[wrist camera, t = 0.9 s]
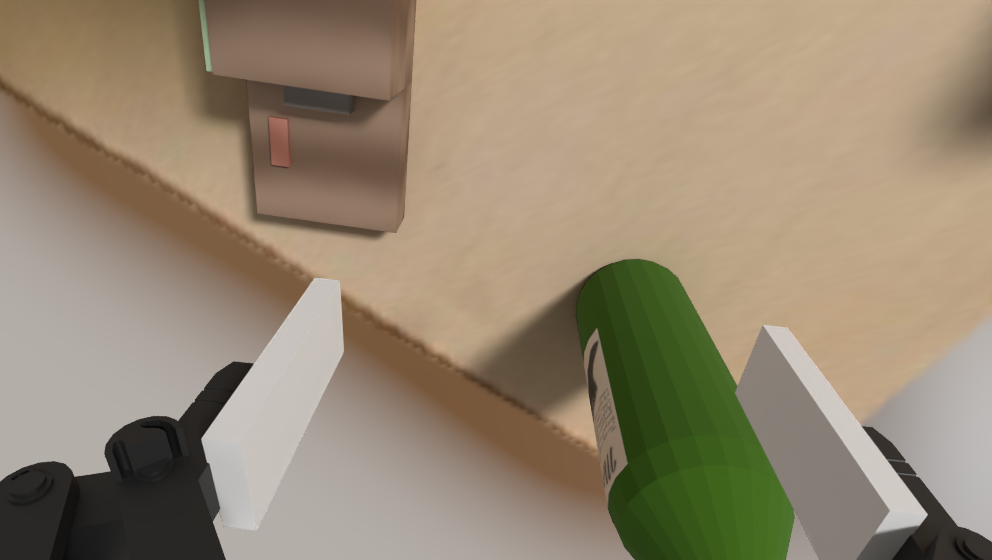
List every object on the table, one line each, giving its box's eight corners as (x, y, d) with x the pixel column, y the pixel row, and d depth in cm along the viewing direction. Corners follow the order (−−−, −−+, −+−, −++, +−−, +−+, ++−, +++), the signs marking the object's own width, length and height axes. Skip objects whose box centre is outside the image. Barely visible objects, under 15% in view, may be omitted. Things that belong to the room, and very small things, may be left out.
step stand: (243, -132, 31) (176, -162, 25) (422, -104, 32) (398, -127, 25) (267, 198, 41) (223, 234, 35) (403, 217, 41) (383, 257, 35)
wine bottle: (567, 267, 43) (661, 822, 14) (682, 248, 42) (1037, 812, 13) (581, 356, 47) (676, 927, 18) (686, 342, 46) (963, 927, 17)
